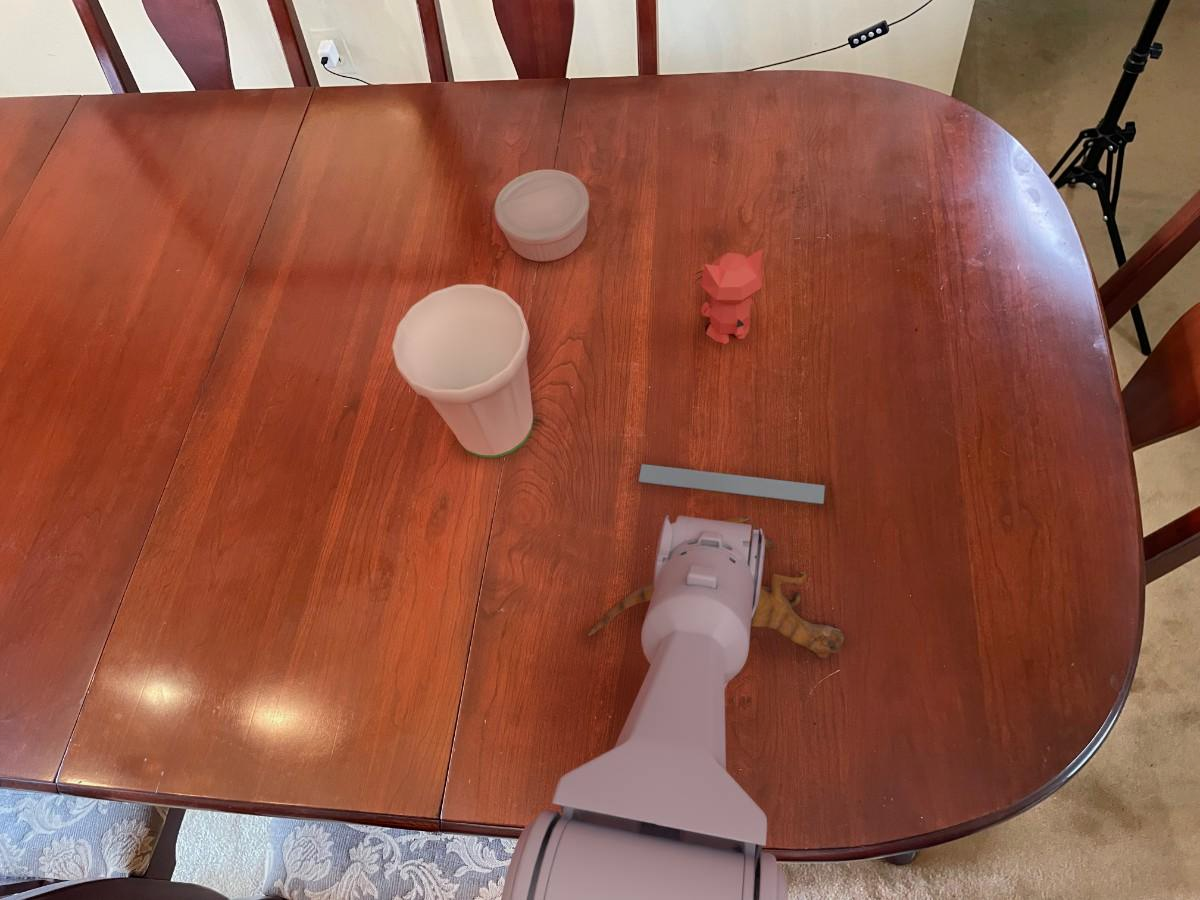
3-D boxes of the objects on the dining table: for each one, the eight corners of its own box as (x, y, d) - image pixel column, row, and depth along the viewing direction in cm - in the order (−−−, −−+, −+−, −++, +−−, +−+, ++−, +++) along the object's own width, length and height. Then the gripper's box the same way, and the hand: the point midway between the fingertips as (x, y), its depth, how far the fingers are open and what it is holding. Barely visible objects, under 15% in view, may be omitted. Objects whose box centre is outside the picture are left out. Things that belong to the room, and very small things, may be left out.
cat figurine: (750, 300, 94) (756, 221, 84) (772, 347, 91) (781, 271, 80) (689, 316, 94) (688, 240, 84) (709, 364, 91) (710, 291, 80)
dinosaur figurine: (852, 566, 78) (835, 693, 73) (618, 520, 83) (587, 636, 78) (864, 538, 72) (847, 674, 67) (611, 490, 77) (577, 614, 72)
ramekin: (542, 188, 106) (535, 155, 102) (612, 224, 102) (608, 190, 97) (483, 245, 103) (473, 213, 98) (553, 284, 98) (546, 252, 94)
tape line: (823, 504, 81) (823, 503, 81) (638, 482, 84) (638, 481, 84) (824, 486, 82) (824, 485, 82) (641, 464, 85) (641, 463, 85)
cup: (531, 486, 85) (500, 405, 72) (419, 462, 88) (369, 379, 75) (567, 386, 91) (545, 293, 78) (461, 366, 94) (422, 273, 81)
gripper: (668, 515, 65) (672, 579, 77) (637, 704, 58) (647, 742, 70) (760, 527, 64) (751, 590, 76) (740, 721, 57) (733, 758, 69)
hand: (706, 664), depth 73 cm, fingers closed
